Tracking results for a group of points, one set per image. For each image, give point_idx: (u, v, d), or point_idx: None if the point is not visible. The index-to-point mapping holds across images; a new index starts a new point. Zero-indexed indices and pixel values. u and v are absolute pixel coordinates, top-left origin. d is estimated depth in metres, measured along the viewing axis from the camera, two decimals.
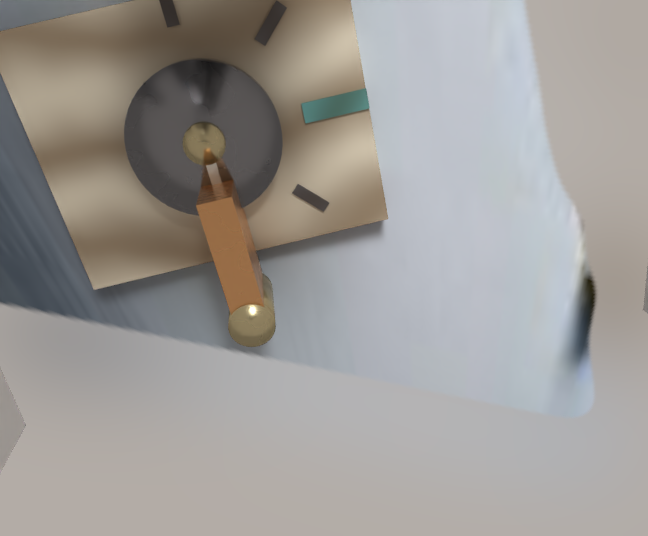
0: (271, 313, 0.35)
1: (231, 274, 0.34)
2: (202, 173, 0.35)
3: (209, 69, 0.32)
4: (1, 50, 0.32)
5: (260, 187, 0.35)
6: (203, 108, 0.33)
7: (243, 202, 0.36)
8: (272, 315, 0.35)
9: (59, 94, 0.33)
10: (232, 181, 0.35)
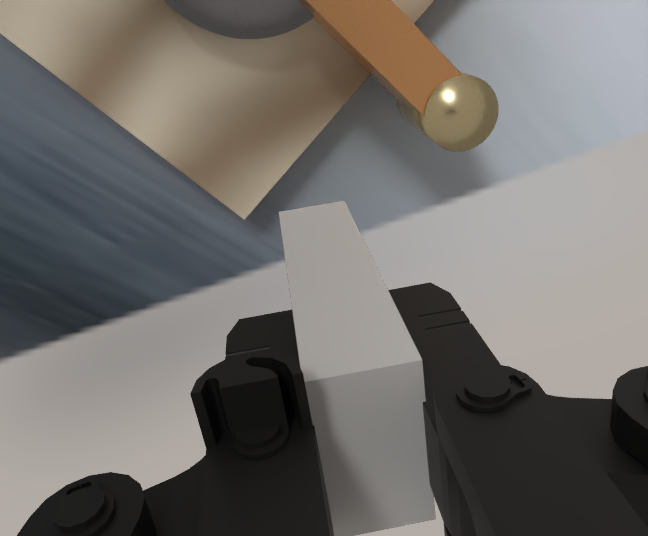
0: (478, 78, 0.22)
1: (391, 53, 0.21)
2: None
3: None
4: None
5: None
6: None
7: None
8: (481, 80, 0.22)
9: None
10: None
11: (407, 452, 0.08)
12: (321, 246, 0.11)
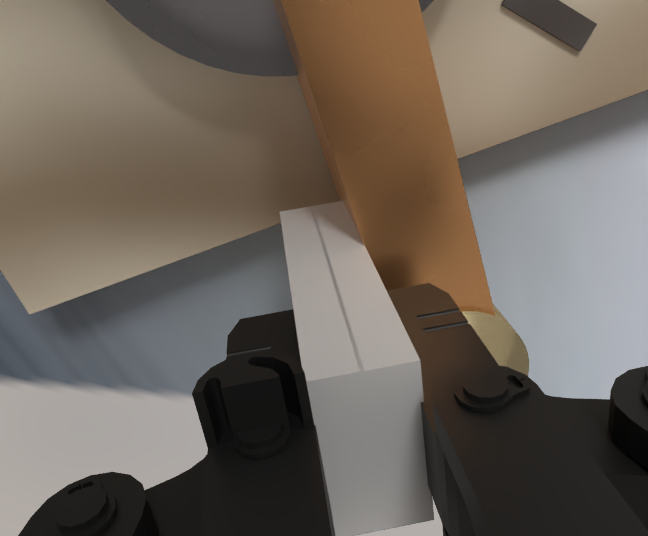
0: None
1: (401, 223, 0.10)
2: None
3: None
4: None
5: None
6: None
7: None
8: None
9: None
10: None
11: (406, 452, 0.08)
12: (319, 246, 0.11)
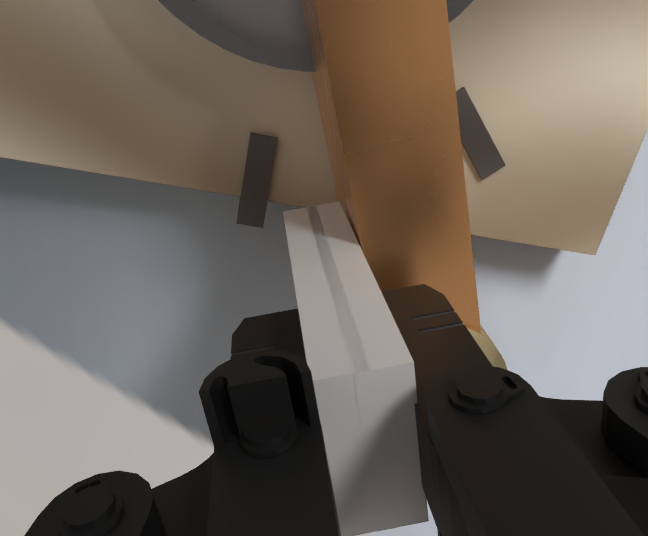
0: None
1: (400, 231, 0.11)
2: None
3: None
4: None
5: None
6: None
7: None
8: None
9: None
10: None
11: (399, 454, 0.08)
12: (315, 247, 0.11)
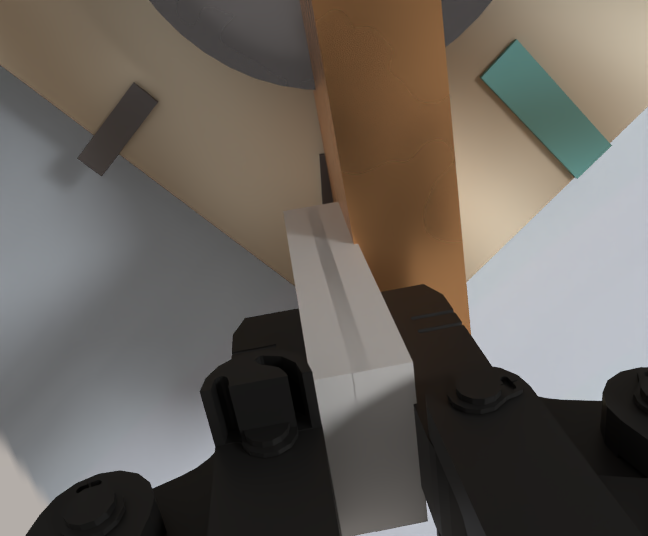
0: None
1: (395, 249, 0.11)
2: None
3: None
4: None
5: (464, 10, 0.13)
6: None
7: None
8: None
9: None
10: None
11: (399, 454, 0.08)
12: (315, 247, 0.11)
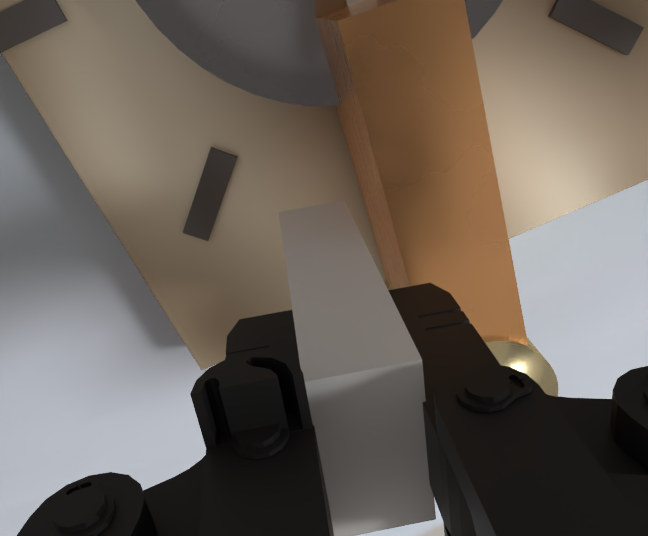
0: None
1: (443, 257, 0.11)
2: None
3: None
4: None
5: (479, 8, 0.13)
6: None
7: None
8: None
9: None
10: None
11: (407, 452, 0.08)
12: (321, 246, 0.11)
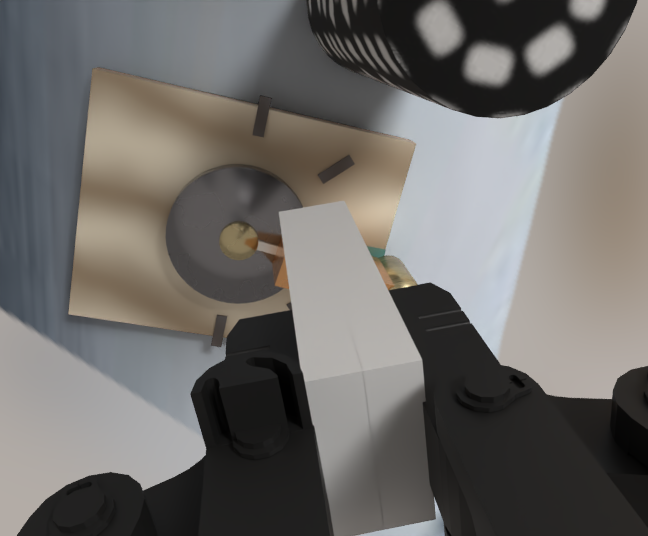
0: (404, 283, 0.36)
1: None
2: (262, 255, 0.38)
3: (184, 201, 0.36)
4: (100, 87, 0.34)
5: None
6: (212, 223, 0.36)
7: None
8: (406, 284, 0.36)
9: (130, 143, 0.36)
10: (281, 238, 0.37)
11: (407, 452, 0.08)
12: (321, 246, 0.11)
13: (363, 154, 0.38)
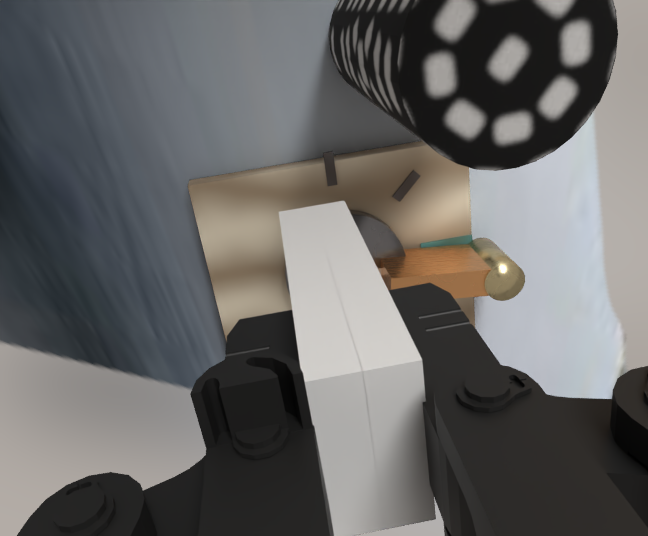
0: (499, 264, 0.40)
1: (454, 289, 0.40)
2: None
3: None
4: (198, 197, 0.41)
5: (392, 238, 0.42)
6: None
7: (401, 254, 0.43)
8: (501, 264, 0.40)
9: (235, 230, 0.42)
10: (381, 260, 0.42)
11: (407, 452, 0.08)
12: (321, 246, 0.11)
13: (425, 164, 0.42)
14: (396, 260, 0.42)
